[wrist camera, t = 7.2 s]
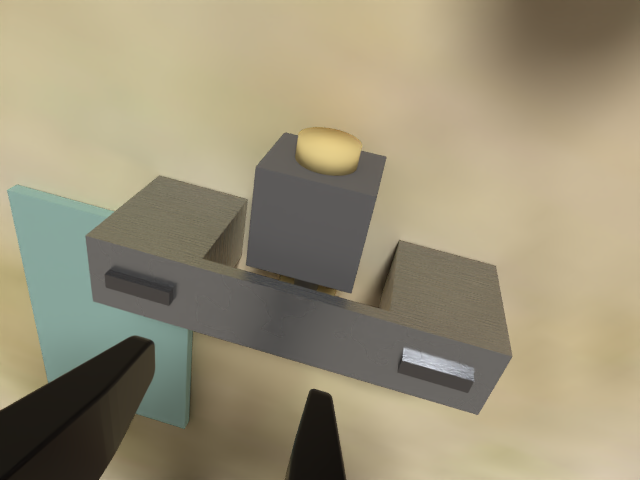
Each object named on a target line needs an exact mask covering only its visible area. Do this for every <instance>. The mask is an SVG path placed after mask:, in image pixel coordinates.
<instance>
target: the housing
mask: <svg viewBox="0 0 640 480" xmlns="http://www.w3.org/2000/svg"><path fill="white" fill-rule="evenodd" d="M246 209H247V199H244V198H241V197H237V196H233V195H229V194H226V193H222V192H218V191H215V190H211V189H207V188H203V187H200V186H196V185H192V184H188V183H185V182H181V181H177V180H174V179H170V178H166V177H162V176H158V177H157V178H156V179H154V180H153V181H152V182H151V183H149V184H148V185H147V186H146V187H145V188H143V189H142V190H141V191H140V192H138V193H137V194H136V195H135V196H133V197H132V198H131V199H130V200H128V201H127V202H126V203H125V204H124V205H122V206H121V207H120V208H119V209H117V210H116V211H115V212H114V213H112V214H111V215H110V216H109V217H108V218H106V219H105V220H104V221H103V222H101V223H100V224H99V225H98V226H96V227H95V228H94V229H93V230H91V231H90V232H89V233H88V234H87V235H85V238H86V247H87V255H88V264H89V272H90V281H91V289H92V298H93V302H97V303H100V304H103V305H107V306H110V307H114V308H117V309H120V310H124V311H127V312H130V313H134V314H137V315H141V316H144V317H147V318H151V319H154V320H158V321H161V322H164V323H168V324H171V325H175V326H178V327H181V328H185V329H188V330H192V331H195V332H198V333H202V334H205V335H209V336H212V337H215V338H219V339H222V340H225V341H229V342H232V343H236V344H239V345H242V346H246V347H249V348H253V349H256V350H259V351H263V352H266V353H270V354H273V355H276V356H280V357H283V358H287V359H290V360H293V361H297V362H300V363H303V364H307V365H310V366H314V367H317V368H320V369H324V370H327V371H331V372H334V373H337V374H341V375H344V376H348V377H351V378H354V379H358V380H361V381H365V382H368V383H371V384H375V385H378V386H381V387H385V388H388V389H392V390H395V391H398V392H402V393H405V394H409V395H412V396H415V397H419V398H422V399H426V400H429V401H432V402H436V403H439V404H443V405H446V406H449V407H453V408H456V409H460V410H463V411H466V412H470V413H473V414H476V415H478V414H479V412H480V411H481V409H482V407H483V406H484V404H485V402H486V401H487V399H488V397H489V395H490V394H491V392H492V390H493V389H494V387H495V385H496V384H497V382H498V380H499V378H500V377H501V375H502V373H503V372H504V370H505V368H506V367H507V365H508V363H509V361H510V360H511V358H512V352H511V346H510V341H509V335H508V330H507V324H506V319H505V313H504V308H503V302H502V297H501V292H500V286H499V281H498V275H497V270H496V266H494V265H490V264H486V263H483V262H479V261H475V260H471V259H468V258H464V257H460V256H457V255H453V254H449V253H445V252H442V251H438V250H434V249H430V248H427V247H423V246H419V245H416V244H412V243H408V242H404V241H401V240H400V241H399V244H398V247H397V250H396V253H395V256H394V259H393V262H392V265H391V268H390V271H389V274H388V277H387V280H386V283H385V286H384V289H383V292H382V295H381V301H380V307H379V308H376V307H372V306H368V305H365V304H361V303H358V302H354V301H351V300H347V299H344V298H340V297H336V296H333V295H329V294H326V293H322V292H319V291H315V290H312V289H308V288H304V287H301V286H297V285H294V284H290V283H287V282H283V281H280V280H276V279H272V278H269V277H265V276H262V275H258V274H255V273H251V272H248V271H244V270H240V269H237V268H234V267H235V265H236V264H237V262H238V261H239V259H240V257H241V255H242V246H243V237H244V227H245V218H246Z"/></svg>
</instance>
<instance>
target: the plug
mask: <svg viewBox="0 0 640 480" xmlns="http://www.w3.org/2000/svg"><path fill="white" fill-rule="evenodd" d="M361 148H362V143H361V142H360V141H359V140H358V139H357V138H356V137H354V136H352V135H350V134H348V133H346V132H343V131H340V130H336V129H331V128H322V127H313V128H307V129H303V130H302V131H300V132H299V134H298V135H294V134H289V133H284V134H283V135H282V136H281V137H280V139H279V140H278V141H277V142H276V143H275V145H274V146H273V147H272V148H271V149H270V151H269V152H268V153H267V154H266V155H265V156H264V158H263V159H262V160H261V161H260V162H259V164H258V165H257V166H256V169H255V180H254V190H253V200H252V210H251V220H250V230H249V240H248V250H247V260H246V265H247V266H250V267H254V268H258V269H262V270H265V271H269V272H273V273H277V274H280V275H281V277H280V279H279V280H280V281H283V282H287V283H290V284H294V285H297V286H301V287H304V288H308V289H312V290H315V291H319V292H322V293H326V294H329V295H333V296H334V295H335V291H336V290H340V291H344V292H348V293H352V289H353V285H354V281H355V278H356V274H357V270H358V266H359V262H360V259H361V255H362V251H363V247H364V243H365V240H366V236H367V232H368V228H369V224H370V221H371V217H372V213H373V209H374V205H375V202H376V198H377V194H378V190H379V186H380V182H381V178H382V173H383V169H384V165H385V161H386V157H385V156H381V155H377V154H373V153H369V152H364V151H361ZM282 275H284V276H282ZM286 276H288V277H286ZM290 277H292V278H290ZM293 278H295V279H293ZM320 285H321V286H320ZM323 286H325V287H323ZM327 287H329V288H327ZM331 288H333V289H331ZM334 289H336V290H334Z"/></svg>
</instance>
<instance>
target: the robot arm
mask: <svg viewBox="0 0 640 480" xmlns="http://www.w3.org/2000/svg"><path fill="white" fill-rule="evenodd" d="M154 373H155V344H154V342H153V341H152V340H150V339H147V338H144V337H140V336H136V335H134V336H130V337H128V338H126V339H125V340H123V341H121V342H119V343H118V344H116V345H114V346H112V347H111V348H109V349H107V350H105V351H104V352H102V353H100V354H98V355H97V356H95V357H93V358H91V359H90V360H88V361H86V362H84V363H83V364H81V365H79V366H77V367H76V368H74V369H72V370H70V371H69V372H67V373H65V374H63V375H62V376H60V377H58V378H56V379H55V380H53V381H51V382H49V383H48V384H46V385H44V386H42V387H41V388H39V389H37V390H35V391H34V392H32V393H30V394H28V395H27V396H25V397H23V398H21V399H20V400H18V401H16V402H14V403H13V404H11V405H9V406H7V407H6V408H4V409H2V410H0V480H99V479H100V477H101V475H102V474H103V472H104V471H105V469H106V468H107V466H108V464H109V463H110V461H111V460H112V458H113V456H114V455H115V453H116V451H117V449H118V447H119V445H120V443H121V441H122V439H123V437H124V435H125V433H126V431H127V429H128V427H129V425H130V423H131V421H132V419H133V417H134V415H135V413H136V411H137V409H138V407H139V405H140V403H141V401H142V400H143V398H144V396H145V394H146V392H147V390H148V388H149V386H150V384H151V382H152V379H153V377H154ZM285 480H346V474H345V469H344V463H343V457H342V451H341V446H340V440H339V434H338V428H337V423H336V417H335V411H334V405H333V400H332V396H331V395H330V394H329V393H326V392H323V391H320V390H316V389H311V390H310V391H309V394H308V397H307V401H306V404H305V407H304V411H303V414H302V417H301V421H300V424H299V427H298V431H297V434H296V438H295V441H294V445H293V449H292V453H291V457H290V461H289V465H288V468H287V472H286V476H285Z"/></svg>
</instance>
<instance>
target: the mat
mask: <svg viewBox="0 0 640 480" xmlns="http://www.w3.org/2000/svg"><path fill="white" fill-rule="evenodd" d="M7 192H8V196H9V201H10V206H11V210H12V215H13V220H14V224H15V229H16V234H17V238H18V243H19V248H20V253H21V257H22V262H23V267H24V271H25V276H26V281H27V285H28V290H29V295H30V299H31V304H32V309H33V313H34V318H35V323H36V328H37V332H38V337H39V342H40V346H41V351H42V356H43V360H44V365H45V370H46V374H47V379H48V383H49V382H51V381H53V380H55V379H56V378H58V377H60V376H62V375H63V374H65V373H67V372H69V371H70V370H72V369H74V368H76V367H77V366H79V365H81V364H83V363H84V362H86V361H88V360H90V359H91V358H93V357H95V356H97V355H98V354H100V353H102V352H104V351H105V350H107V349H109V348H111V347H112V346H114V345H116V344H118V343H119V342H121V341H123V340H125V339H126V338H128V337H130V336H134V335H136V336H140V337H144V338H147V339H150V340H152V341H153V342H154V344H155V373H154V377H153V379H152V382H151V384H150V386H149V388H148V390H147V392H146V394H145V396H144V398H143V400H142V401H141V403H140V405H139V407H138V409H137V411H136V413H135V414H138V415H142V416H145V417H148V418H151V419H154V420H158V421H161V422H164V423H167V424H170V425H173V426H177V427H180V428H183V429H185V427H186V425H187V424H188V422H189V408H190V384H191V359H192V335H193V331H192V330H188V329H185V328H181V327H178V326H175V325H171V324H168V323H164V322H161V321H158V320H154V319H151V318H147V317H144V316H141V315H137V314H134V313H130V312H127V311H124V310H120V309H117V308H114V307H110V306H107V305H103V304H100V303H97V302H93V298H92V289H91V281H90V272H89V264H88V255H87V247H86V238H85V235H87V234H88V233H89V232H90V231H91V230H93V229H94V228H95V227H96V226H98V225H99V224H100V223H101V222H103V221H104V220H105V219H106V218H108V217H109V216H110V215H111V214H112V213H114V211H110V210H107V209H103V208H99V207H96V206H92V205H89V204H85V203H81V202H78V201H74V200H71V199H67V198H63V197H60V196H56V195H53V194H49V193H45V192H42V191H38V190H35V189H31V188H27V187H24V186H20V185H15V186H13V187H12V188H10V189H8V190H7Z"/></svg>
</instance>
